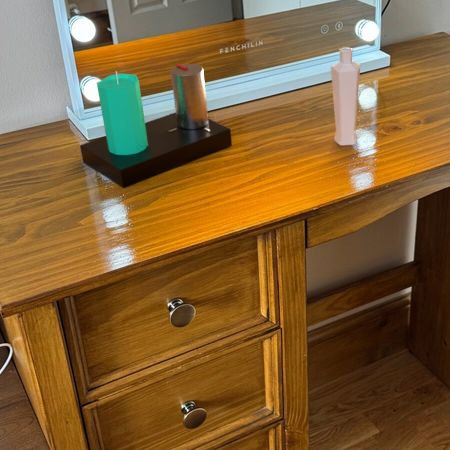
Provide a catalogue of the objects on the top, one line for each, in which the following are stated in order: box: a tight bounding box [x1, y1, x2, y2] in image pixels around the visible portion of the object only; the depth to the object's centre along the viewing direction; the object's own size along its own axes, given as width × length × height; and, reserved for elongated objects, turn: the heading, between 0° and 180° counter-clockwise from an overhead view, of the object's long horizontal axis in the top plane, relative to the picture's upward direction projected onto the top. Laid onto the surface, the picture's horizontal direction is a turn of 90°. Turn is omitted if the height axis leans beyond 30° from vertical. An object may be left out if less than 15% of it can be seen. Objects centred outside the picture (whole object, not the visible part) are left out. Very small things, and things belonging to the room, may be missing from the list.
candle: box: [96, 70, 148, 155], centre depth 113 cm, size 6×6×12 cm
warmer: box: [79, 111, 233, 189], centre depth 120 cm, size 22×12×3 cm, turn 132°
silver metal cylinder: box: [170, 63, 209, 129], centre depth 121 cm, size 5×5×9 cm
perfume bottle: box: [330, 46, 361, 146], centre depth 119 cm, size 5×4×15 cm
